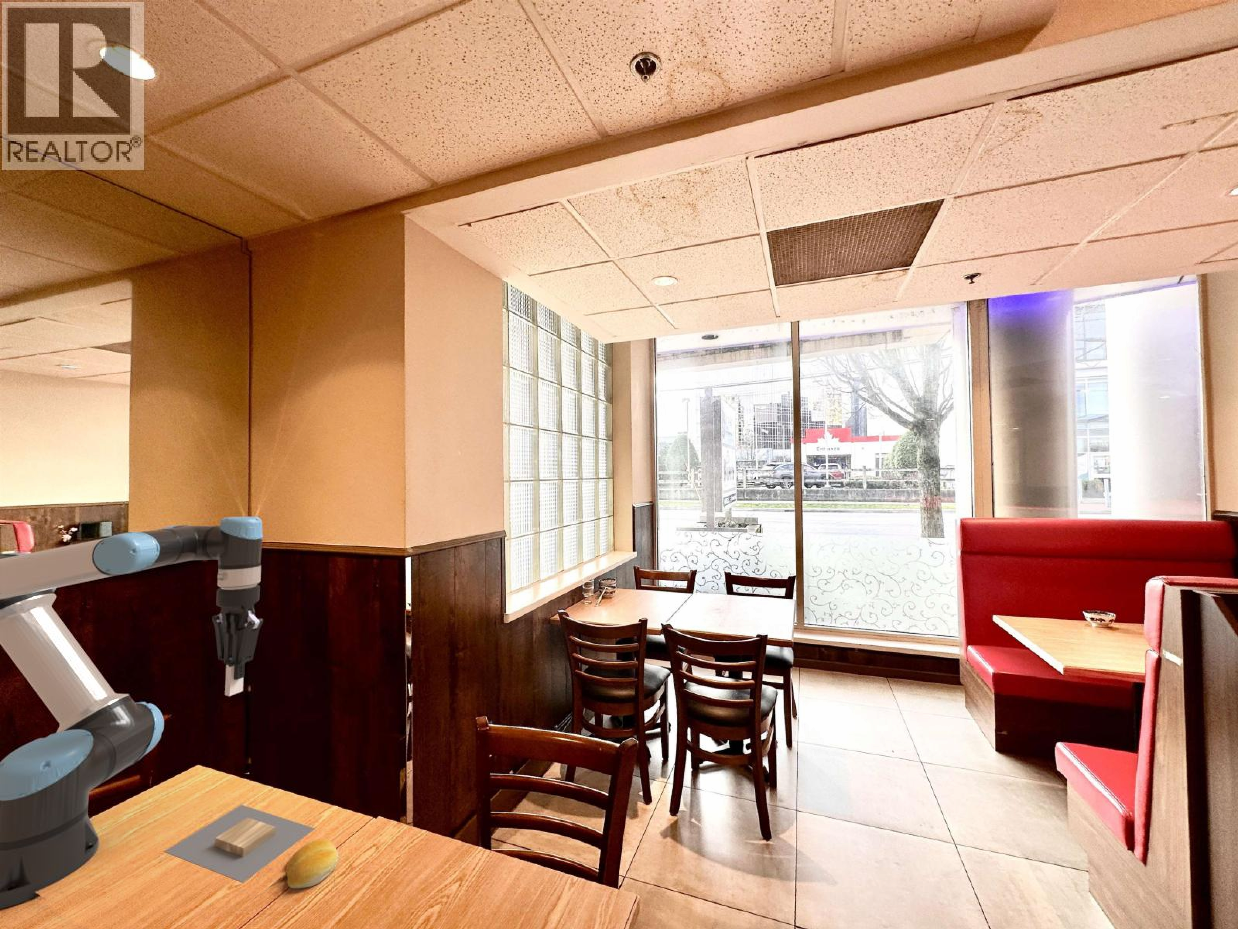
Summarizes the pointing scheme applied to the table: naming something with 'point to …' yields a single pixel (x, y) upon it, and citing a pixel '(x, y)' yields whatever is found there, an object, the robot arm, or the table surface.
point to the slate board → (237, 867)
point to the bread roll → (311, 864)
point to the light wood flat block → (245, 836)
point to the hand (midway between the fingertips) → (233, 693)
